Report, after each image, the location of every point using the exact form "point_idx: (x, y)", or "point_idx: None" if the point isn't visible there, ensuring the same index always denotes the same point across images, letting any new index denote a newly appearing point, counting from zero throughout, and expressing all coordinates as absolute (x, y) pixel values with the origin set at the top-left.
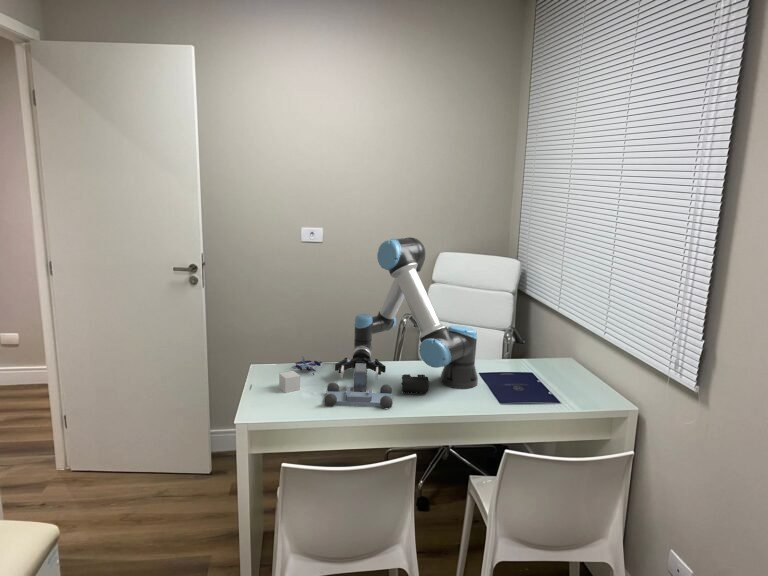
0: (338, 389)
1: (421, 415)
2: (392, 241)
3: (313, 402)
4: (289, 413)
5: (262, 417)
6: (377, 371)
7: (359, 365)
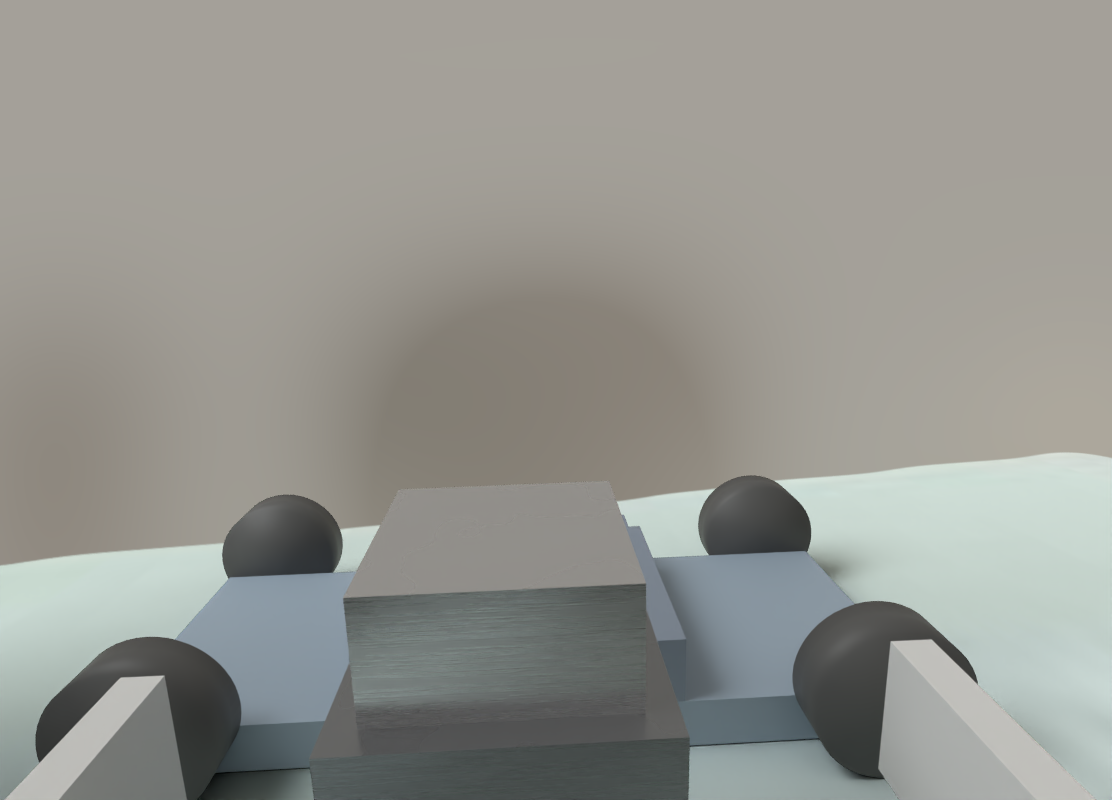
0: (796, 670)
1: (73, 556)
2: None
3: (927, 599)
4: (945, 500)
5: (1040, 471)
6: (79, 737)
7: (531, 516)
